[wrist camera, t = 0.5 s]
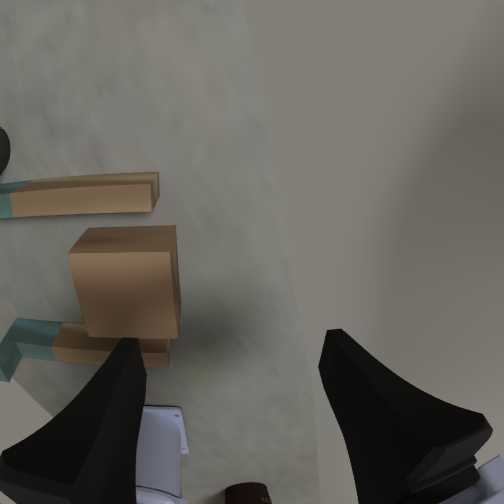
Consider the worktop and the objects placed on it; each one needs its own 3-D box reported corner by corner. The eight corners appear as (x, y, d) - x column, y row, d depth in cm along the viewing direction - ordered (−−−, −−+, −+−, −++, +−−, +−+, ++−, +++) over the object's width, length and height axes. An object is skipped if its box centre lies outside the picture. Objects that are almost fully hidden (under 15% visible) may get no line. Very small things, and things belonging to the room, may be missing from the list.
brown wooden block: (181, 302, 23) (178, 338, 19) (103, 302, 22) (89, 336, 18) (176, 224, 20) (169, 251, 17) (89, 226, 19) (67, 253, 16)
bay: (171, 341, 24) (166, 400, 19) (19, 331, 22) (-8, 378, 17) (159, 101, 16) (136, 99, 11) (-26, 129, 14) (-81, 146, 9)
